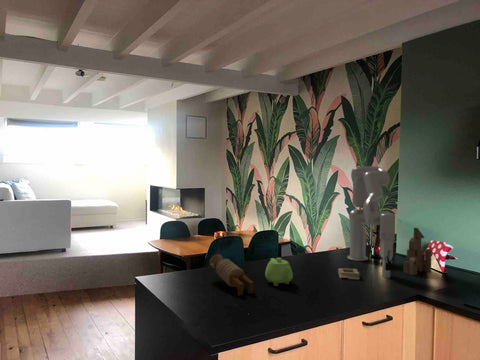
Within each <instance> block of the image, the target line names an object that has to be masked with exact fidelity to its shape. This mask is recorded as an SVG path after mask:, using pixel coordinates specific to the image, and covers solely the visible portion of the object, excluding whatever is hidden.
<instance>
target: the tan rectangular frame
mask: <svg viewBox="0 0 480 360" xmlns="http://www.w3.org/2000/svg"><path fill="white" fill-rule="evenodd" d="M337 272H338V276H339V279H341V278H348V279H347V280H360V272H359V271H358V269H357V268H345V267H344V268H341V267H340V268H338V271H337Z"/></svg>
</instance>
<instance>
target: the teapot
mask: <svg viewBox="0 0 480 360" xmlns="http://www.w3.org/2000/svg"><path fill="white" fill-rule="evenodd" d="M266 265H267V266H266V268H265V272H264V274H265V275H264V276H265V278H266V280H267V281H268V283H273V284H272V285H273V286H275V287H278V286H279V284H283V285H286V284H289V285H290V282H291V281H292V280H293V278H294V273H293V270H292V266H291V265H290V262H288V261H287V260H285V259H282V257H277V258H274V257H273V258H270V260H269V261H268V263H267V264H266Z"/></svg>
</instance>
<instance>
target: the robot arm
mask: <svg viewBox="0 0 480 360" xmlns="http://www.w3.org/2000/svg"><path fill="white" fill-rule="evenodd" d="M350 177H351V182H352V200H351V201H352V205H353V207H355V208H356V209H352V210H350V211H349V214H348V220H349V235H350V237H349V238H350V241H349V254H348V255H347V256H346V258H347V259H348V260H351V261H355V262H356V261H357V262H360V261H361V262H364V261H368V260H369V257H368V256H366V249H367V248H366V247H367V246H366V242H367V233H366V232H367V231H366V228H365V227H364V226H363V225H370V226H379V239H380V242H379V256H380V265H381V266H382V264H383V258H386V267H385V270H386V271H390V272H392V271H393V258H394V241H395V233H396V232H395V231H396V215H395V214H394V213H391V212H390V211H386V210H385V211H384V210H382V211H381V210H379V201H380V199H381V198H382V197H383V196H384V191H383V188H382V187H383V186H388V185H389V184H390V181H391V180H390V174H389V172H388V171H387V170H385V169H384V168H382V167H381V166H368V165H367V166H363V165H362V166H361V165H360V166H355V167H353V168H352V169H351V173H350ZM357 208H358V209H357ZM359 208H361V209H359ZM387 259H388V260H387Z"/></svg>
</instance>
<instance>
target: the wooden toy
mask: <svg viewBox="0 0 480 360" xmlns="http://www.w3.org/2000/svg"><path fill="white" fill-rule="evenodd" d="M424 238H425V236H424V234H423V233H422V232H421V231H420V229H419V228H418V227H413V237H411V238H410V239H409V241H408V249H406V260H404V261H403V264H402V265H403V267H402V269H403V270H402V272H403V273H404V274H407V275H409V276H410V275H411V276H417V275H418V272H424V273H429V274H430V273H432V249H430V248H425V250H424V254H423V253H422V239H424Z"/></svg>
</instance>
